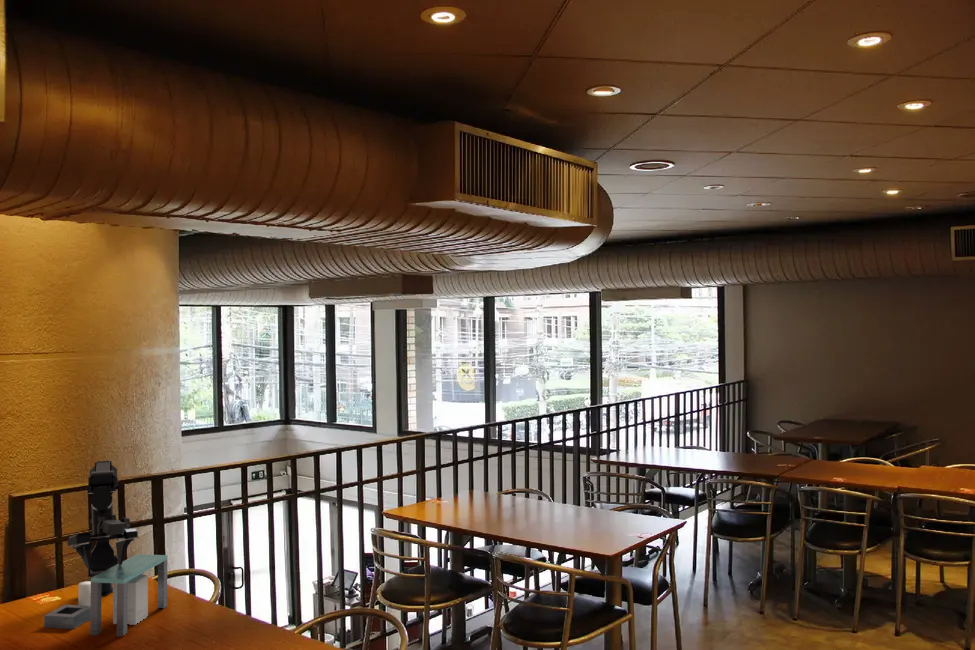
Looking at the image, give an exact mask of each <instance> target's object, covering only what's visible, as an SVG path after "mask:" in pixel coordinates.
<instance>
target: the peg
mask: <svg viewBox="0 0 975 650" xmlns="http://www.w3.org/2000/svg"><path fill="white" fill-rule="evenodd" d="M77 595H78V600H77V601H78V603H77V605H83V606H91V580H90V581H89V580H87V581H81V582H79V583H78V594H77Z"/></svg>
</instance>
